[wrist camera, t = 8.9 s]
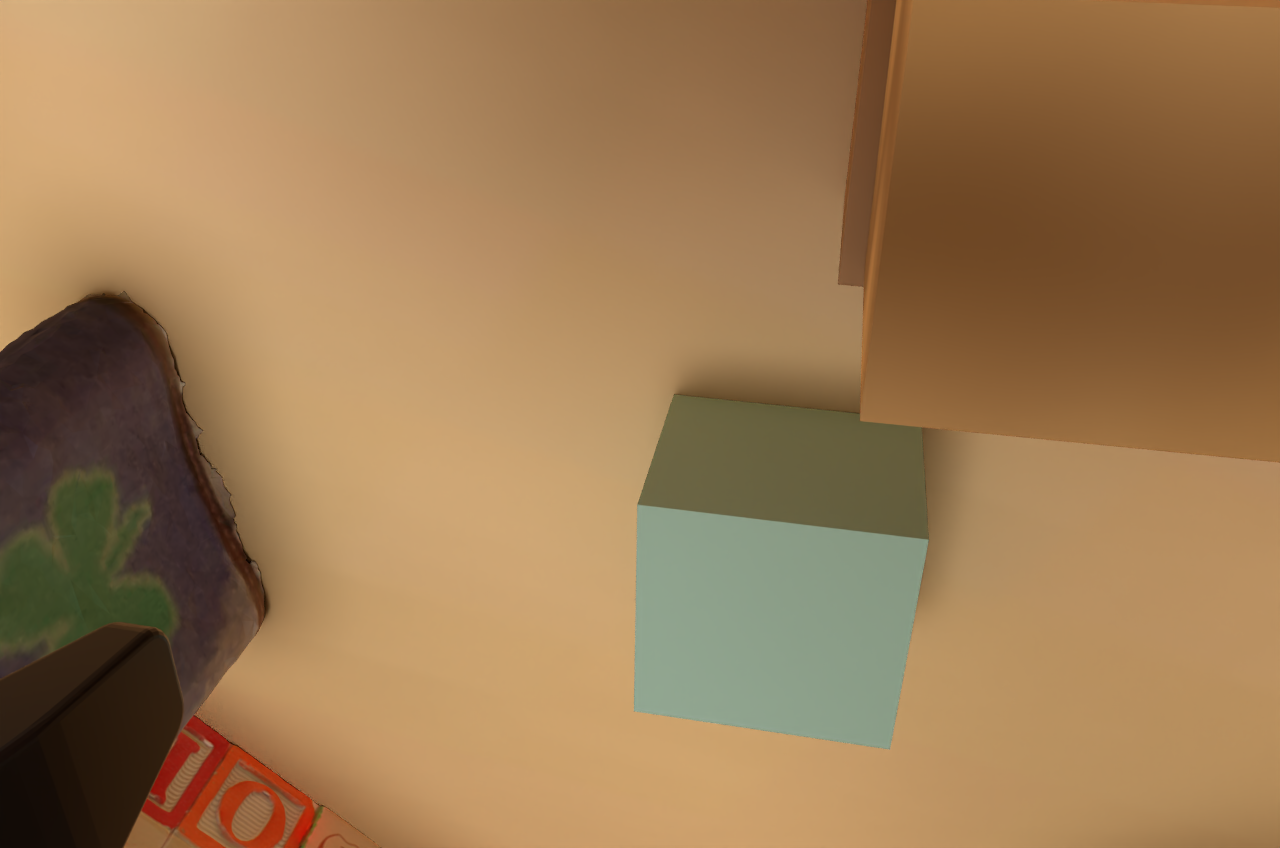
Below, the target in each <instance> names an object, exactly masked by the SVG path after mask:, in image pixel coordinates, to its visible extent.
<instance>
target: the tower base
mask: <svg viewBox="0 0 1280 848" xmlns="http://www.w3.org/2000/svg"><path fill="white" fill-rule="evenodd" d="M928 542H929V534H928V518H927V502H926V485H925V469H924V453H923V437H922V427H914V426H904V425H894V424H884V423H873V422H863V421H860V414H859V413H849V412H840V411H830V410H820V409H811V408H801V407H791V406H782V405H772V404H762V403H753V402H743V401H733V400H724V399H714V398H704V397H695V396H685V395H675V394H674V396H673V399H672V402H671V405H670V408H669V411H668V414H667V417H666V420H665V423H664V426H663V429H662V432H661V435H660V438H659V441H658V444H657V447H656V450H655V453H654V456H653V459H652V462H651V465H650V468H649V471H648V474H647V477H646V480H645V483H644V486H643V490H642V493H641V496H640V499H639V502H638V505H637V563H636V623H635V682H634V711H636V712H643V713H649V714H656V715H663V716H669V717H676V718H683V719H690V720H696V721H703V722H710V723H716V724H723V725H730V726H736V727H743V728H750V729H756V730H763V731H770V732H776V733H783V734H790V735H797V736H803V737H810V738H817V739H823V740H830V741H837V742H843V743H850V744H857V745H863V746H870V747H877V748H883V749H890V746H891V741H892V736H893V730H894V725H895V720H896V714H897V709H898V703H899V698H900V693H901V687H902V682H903V676H904V671H905V666H906V660H907V655H908V650H909V644H910V639H911V633H912V628H913V623H914V617H915V612H916V606H917V601H918V596H919V590H920V585H921V579H922V574H923V569H924V563H925V558H926V553H927V547H928Z"/></svg>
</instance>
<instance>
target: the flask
mask: <svg viewBox="0 0 1280 848" xmlns="http://www.w3.org/2000/svg"><path fill="white" fill-rule="evenodd" d="M143 311H144V310H142V309H141V308H140V307H139V306H137V305H136V304H134V303H133V302H132V301H131V300H130V299H129V297H128V296H127V294H126V293H125V291H123V292H122V293H121V294H120V295H118V296H114V295H105V294H102V295H87V296H86V297H85V298H84V299H82V300H80V301H79V302H77V303H75V304H72V305H70V306H67V307H66V308H65V309H64V310H62V311H61V312H59V313H57V314H56V315H54V316H52V317H50V318H48V319H46V320H44V321H43V322H41V323H40V324H38V325H37V326H36V327H35V328H34V329H31V330H29V331H26V332H24V333H23V334H22V335H21V336H20V337H19V338H17V339H16V340H15V341H13V342H11V343H10V344H8V345H7V346H6V347H5V348H4V349H3V350H2V351H1V352H0V679H1V678H3V677H5V676H7V675H9V674H11V673H13V672H15V671H17V670H18V669H20V668H22V667H24V666H26V665H28V664H30V663H32V662H34V661H36V660H38V659H40V658H42V657H44V656H46V655H47V654H49V653H51V652H53V651H55V650H57V649H59V648H61V647H63V646H65V645H67V644H69V643H71V642H73V641H75V640H76V639H78V638H80V637H82V636H84V635H86V634H88V633H90V632H92V631H94V630H96V629H98V628H100V627H102V626H104V625H106V624H109V623H113V622H124V623H131V624H137V625H143V626H150V627H156V628H158V629H160V630H162V631H163V633H164V634H165V635H166V636H167V637H168V640H169V643H170V647H171V651H172V655H173V659H174V663H175V667H176V671H177V675H178V679H179V683H180V687H181V691H182V695H183V700H184V713H183V719H182V723H181V726H180V729H179V732H178V734H177V737H178V735H179V734H180V732H181V731H182V729H183V728H184V727H185V725H186V724H187V723H188V722H189V720H190V719H191V718H192V717H193V715H194V714H195V713H196V712H197V710H198V709H199V708H200V706H201V705H202V704H203V703H204V701H205V700H206V699H207V697H208V696H209V695H210V694H211V692H212V691H213V689H214V688H215V687H216V685H217V684H218V682H219V681H220V680H221V678H222V677H223V675H224V674H225V673H226V672H227V670H228V669H229V668H230V667H231V666H232V665H233V664H234V662H235V661H236V660H237V659H238V658H239V656H240V655H241V653H242V652H243V651H244V649H245V648H246V647H247V645H248V644H249V642H250V641H251V640H252V638H253V637H254V636H255V635H256V634H257V632H258V631H259V629H260V626H261V624H262V622H263V619H264V613H265V610H264V590H263V587H262V585H261V580H262V579H261V580H260V571H259V570H258V565H257V564H256V562H253V561H252V562H251V564H249V563H248V562H247V561H246V559H247V557H246V555H245V553H244V552H243V548H242V543H241V542H240V540H239V536H238V534H237V533H236V526H237V525H236V524H235V523H234V520H233V518H234V517H235V513H234V511H233V508H232V506H231V504H230V500H229V498H230V496H231V494H230V493H229V492H227V490H226V489H225V488H224V486H223V481H222V477H221V476H220V475H219V474H218V473H217V472H215V471H216V469H211V465H210V464H209V463H208V462H207V461H206V460H205V459H204V457H203V456H201V455H200V454H199V449H198V448H197V442H196V438H197V437H198V436H199V434H200V433H201V432H202V431H203V430H201V429H200V428H198V427H197V425H196V423H195V422H194V421H193V420H192V419H191V418H190V416H189V415H188V414H187V413H186V411H185V407H184V405H183V403H182V386H185V383H182V382H181V381H180V378H179V376H177V371H176V370H175V369H174V359H173V357H172V355H171V352H170V349H169V345H168V341H167V339H168V337H167V335H166V332H165V331H164V329H163V328H162V327H161V326H160V325H159V324H156V323H157V322H156V321H155V320H154V319H153V318H152V317H150V316H149V315H148V314H147V313H143ZM177 737H176V738H177ZM175 740H176V739H175Z"/></svg>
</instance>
